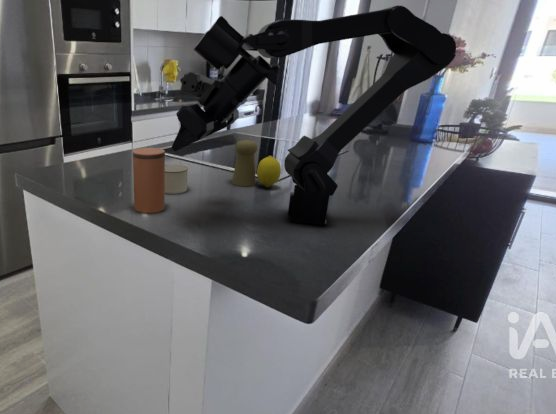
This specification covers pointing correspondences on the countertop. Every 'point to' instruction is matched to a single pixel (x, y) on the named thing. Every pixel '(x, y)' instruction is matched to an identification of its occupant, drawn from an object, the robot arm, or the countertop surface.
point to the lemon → (268, 171)
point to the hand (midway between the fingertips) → (183, 144)
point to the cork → (245, 164)
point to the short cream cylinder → (175, 178)
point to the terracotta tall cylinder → (149, 179)
